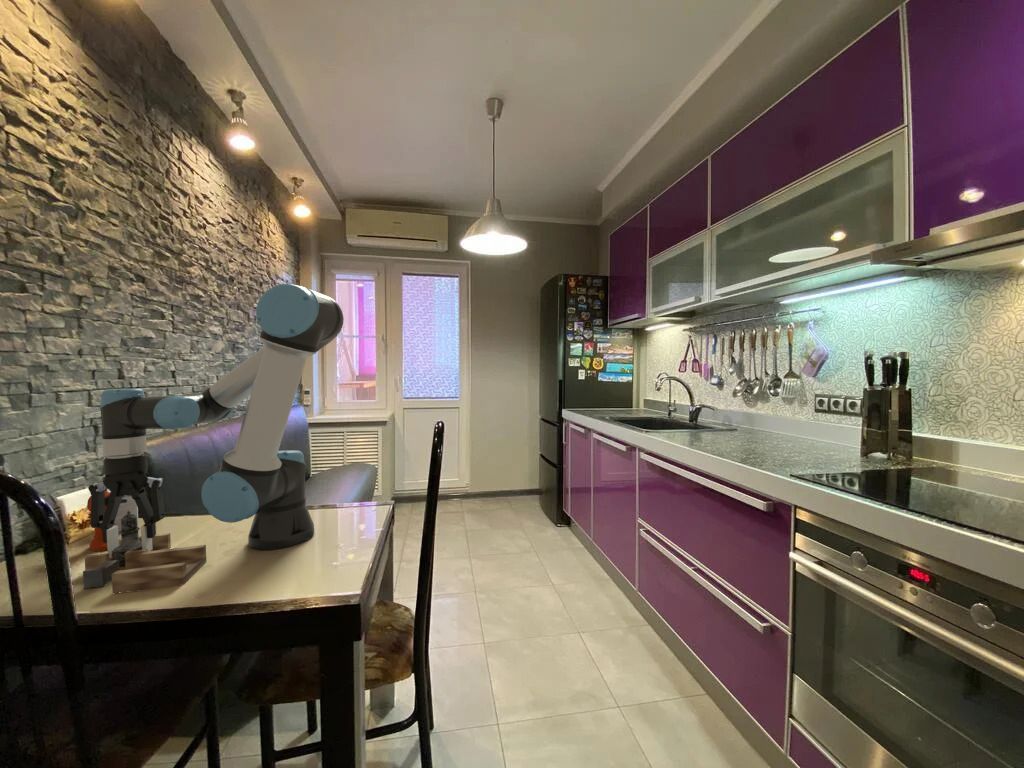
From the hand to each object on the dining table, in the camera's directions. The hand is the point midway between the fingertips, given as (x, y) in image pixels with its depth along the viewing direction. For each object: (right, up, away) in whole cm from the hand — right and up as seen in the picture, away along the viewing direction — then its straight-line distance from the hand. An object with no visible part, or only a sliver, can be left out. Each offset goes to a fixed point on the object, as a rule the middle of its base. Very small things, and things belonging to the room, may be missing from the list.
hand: (130, 553), depth 99 cm
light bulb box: (-24, -2, +24) cm, 35 cm away
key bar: (+3, -2, -9) cm, 10 cm away
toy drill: (-11, -2, +7) cm, 14 cm away
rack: (+14, -2, -8) cm, 16 cm away
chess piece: (0, -2, 0) cm, 2 cm away
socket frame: (0, -2, 0) cm, 2 cm away
